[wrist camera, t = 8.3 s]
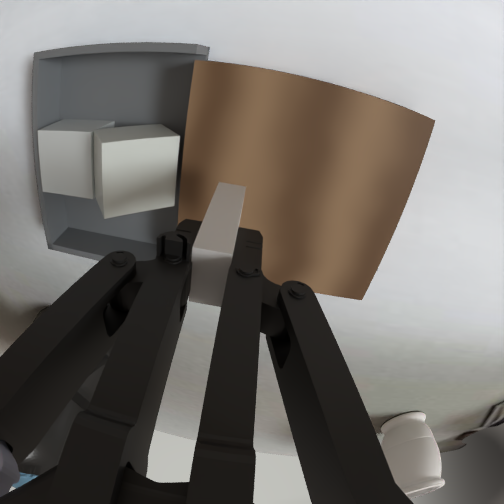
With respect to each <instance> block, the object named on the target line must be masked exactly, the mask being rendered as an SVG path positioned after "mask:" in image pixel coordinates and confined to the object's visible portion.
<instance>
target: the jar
mask: <svg viewBox="0 0 504 504" xmlns="http://www.w3.org/2000/svg"><path fill="white" fill-rule="evenodd" d="M425 418H426V416H425V414H424V413H422V412H410V413H406V414H402V415H399V416H397V417H394V418H392V419H390V420H389V421H387V422H386V423H384V424H383V425H382V427H381V431H382V433H383V434H384V435H385V436H384V438H383V441H382V445H381V448H382V450H383V453H384V455H385V458H386V460H387V463H388V465H389V468H390V470H391V473H392V476H393V478H394V481H395V483H396V484H397V485H398V486H399V488H400V489H401V490H402V491H403V492H404V493H405V494H406V496H407V497H408V498H409V499H411V498H415V497H418V496H421V495H424V494H427V493H430V492H432V491H434V490H437V489H438V488H440V487H442V486H443V485H445V481H444V479H441V456H440V452H439V448H438V446H437V443H436V441H435V439H434V436H433V434H432V431H431V430H430V428H429V427H428V426H427V424H426V423H424V421H425Z"/></svg>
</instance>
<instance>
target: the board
mask: <svg viewBox="0 0 504 504" xmlns="http://www.w3.org/2000/svg"><path fill="white" fill-rule="evenodd" d="M434 123H435V120H433V119H431V118H428V117H426V116H424V115H422V114H420V113H417V112H415V111H412V110H410V109H407V108H405V107H402V106H400V105H397V104H394V103H391V102H389V101H386V100H383V99H380V98H377V97H374V96H371V95H368V94H365V93H362V92H359V91H356V90H352V89H349V88H346V87H342V86H339V85H335V84H331V83H328V82H324V81H320V80H316V79H312V78H308V77H303V76H299V75H294V74H290V73H285V72H280V71H275V70H270V69H264V68H258V67H252V66H246V65H239V64H232V63H224V62H215V61H204V60H195V63H194V69H193V76H192V83H191V90H190V97H189V105H188V113H187V121H186V130H185V139H184V149H183V159H182V170H181V182H180V195H179V210H178V224H179V223H180V222H182V221H183V220H185V219H191V220H197V221H203V219H204V217H205V214H206V212H207V210H208V207H209V205H210V202H211V200H212V197H213V195H214V193H215V190H216V188H217V186H218V183H219V182H222V183H228V184H234V185H240V186H245V187H246V190H245V195H244V201H243V206H242V212H241V218H240V223H239V227H242V228H247V229H253V230H258V231H260V233H261V235H262V236H263V248H262V267H261V269H262V272H263V275H264V276H265V277H266V278H267V279H268V280H270V281H271V282H273V283H275V284H278V285H280V286H281V285H282V283H284V282H286V281H291V280H294V281H300V282H302V283H305V284H307V285H308V286H309V287H311V289H312V290H313V292H314V293H320V294H326V295H332V296H338V297H344V298H351V299H357V300H362V299H363V297H364V295H365V293H366V291H367V289H368V287H369V285H370V283H371V281H372V279H373V277H374V275H375V273H376V271H377V269H378V266H379V264H380V262H381V260H382V258H383V256H384V254H385V251H386V249H387V247H388V245H389V243H390V240H391V238H392V236H393V234H394V231H395V229H396V227H397V224H398V222H399V220H400V217H401V215H402V212H403V210H404V208H405V205H406V203H407V200H408V198H409V195H410V192H411V190H412V187H413V185H414V182H415V179H416V177H417V174H418V171H419V168H420V166H421V163H422V160H423V157H424V154H425V151H426V148H427V145H428V142H429V139H430V136H431V133H432V130H433V127H434Z"/></svg>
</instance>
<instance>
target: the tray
mask: <svg viewBox="0 0 504 504" xmlns="http://www.w3.org/2000/svg"><path fill="white" fill-rule="evenodd" d="M209 49H210V47H206V46H202V45H198V44H184V43H153V42H141V43H110V44H96V45H85V46H75V47H67V48H60V49H53V50H46V51H41V52H35V53H34V60H33V76H32V130H33V148H34V160H35V170H36V179H37V187H38V195H39V201H40V208H41V214H42V220H43V225H44V230H45V235H46V240H47V245H48V249H52V250H56V251H60V252H64V253H68V254H73V255H77V256H81V257H85V258H89V259H94V260H98V261H100V260H101V259H102V258H104V257H105V256H106V255H107V254H109V253H111V252H114V251H128V252H130V253H132V254H133V255H134V256H135V258H136V261H148V260H153V259H155V258H156V256H157V237H158V236H159V235H160V234H162V233H164V232H169V231H175V230H176V228H177V226H178V210H179V195H180V182H181V170H182V159H183V149H184V139H185V130H186V121H187V113H188V105H189V97H190V90H191V83H192V76H193V69H194V63H195V60H204V61H207V60H208V54H209ZM63 119H83V120H106V121H115V124H114V128H115V127H126V126H138V125H151V124H162V125H164V126H165V127H167V128H169V129H170V130H172V131H173V132H175V133H176V134H178V135H179V136H180V142H179V153H178V164H177V176H176V189H175V204H174V206H171V207H165V208H160V209H154V210H148V211H143V212H137V213H132V214H127V215H122V216H117V217H111V218H106V219H104V217H103V214H102V212H101V210H100V207H99V205H98V202H97V200H96V197H95V198H94V199H89V198H82V197H76V196H69V195H63V194H56V193H49V192H43V189H42V181H41V171H40V160H39V146H38V130H40V129H42V128H44V127H46V126H49V125H51V124H53V123H56V122H58V121H60V120H63Z"/></svg>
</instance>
